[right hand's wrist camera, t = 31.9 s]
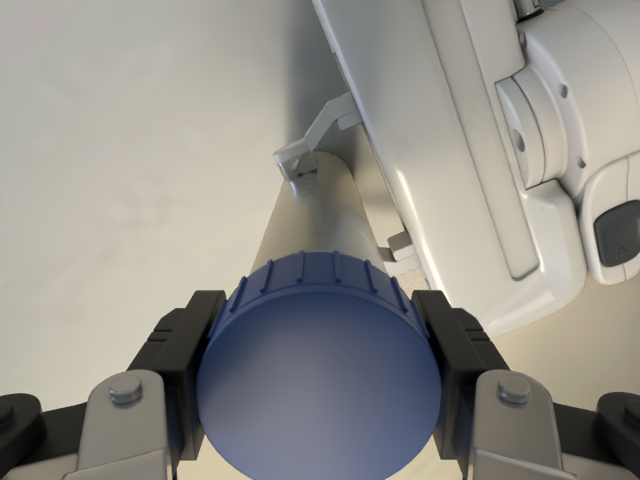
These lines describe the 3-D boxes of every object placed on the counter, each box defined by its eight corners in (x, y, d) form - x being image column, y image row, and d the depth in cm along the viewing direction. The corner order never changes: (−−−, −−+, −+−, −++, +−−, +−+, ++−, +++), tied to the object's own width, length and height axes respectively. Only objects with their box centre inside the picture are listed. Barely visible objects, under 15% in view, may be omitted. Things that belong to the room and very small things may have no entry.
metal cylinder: (279, 210, 29) (209, 430, 11) (291, 143, 28) (236, 264, 9) (344, 223, 29) (387, 460, 11) (360, 158, 28) (441, 304, 9)
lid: (415, 427, 12) (434, 498, 10) (222, 427, 12) (202, 498, 10) (432, 248, 10) (460, 289, 8) (206, 247, 10) (177, 288, 8)
